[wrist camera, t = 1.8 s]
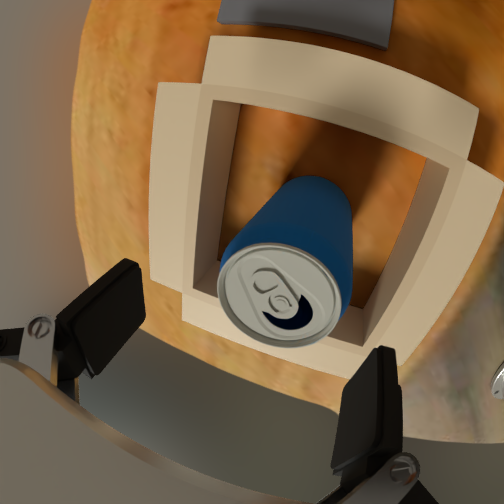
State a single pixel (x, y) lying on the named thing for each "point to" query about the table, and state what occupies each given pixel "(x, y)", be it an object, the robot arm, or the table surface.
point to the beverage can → (291, 266)
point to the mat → (317, 17)
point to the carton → (341, 113)
